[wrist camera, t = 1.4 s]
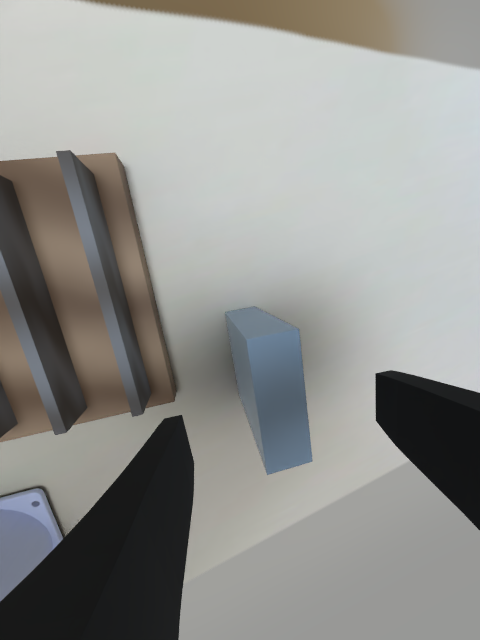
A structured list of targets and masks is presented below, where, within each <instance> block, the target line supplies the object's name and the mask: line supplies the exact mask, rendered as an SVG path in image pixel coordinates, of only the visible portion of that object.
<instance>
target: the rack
mask: <svg viewBox="0 0 480 640" xmlns="http://www.w3.org/2000/svg"><path fill="white" fill-rule="evenodd" d="M56 153H57V156H58V157H50V158H36V159H23V160H9V161H0V442H3V441H8V440H12V439H16V438H20V437H25V436H29V435H33V434H38V433H42V432H46V431H50V430H53V431H54V434H55V435H58V434H62V433H66V432H67V431H68V430H69V429H70V428H71V427H72V425H76V424H80V423H85V422H89V421H93V420H97V419H102V418H106V417H110V416H114V415H119V414H123V413H127V412H131V413H132V417H134V416H138V415H142V414H143V413H144V410H145V408H149V407H153V406H157V405H161V404H166V403H170V402H174V401H175V397H176V387H175V383H174V379H173V374H172V370H171V366H170V362H169V357H168V353H167V349H166V344H165V340H164V336H163V332H162V327H161V323H160V319H159V315H158V310H157V306H156V302H155V298H154V293H153V289H152V285H151V281H150V276H149V272H148V268H147V264H146V259H145V255H144V251H143V247H142V242H141V238H140V234H139V230H138V225H137V221H136V217H135V213H134V208H133V204H132V200H131V196H130V191H129V187H128V183H127V179H126V174H125V170H124V166H123V164H122V162H121V161H120V159H119V158H118V156H117V155H116V153H104V154H90V155H77V156H75V155H74V154H73V153H72V152H71V151H70V150H68V151H56Z"/></svg>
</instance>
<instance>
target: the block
mask: <svg viewBox="0 0 480 640" xmlns="http://www.w3.org/2000/svg"><path fill="white" fill-rule="evenodd" d="M225 316H226V322H227V328H228V334H229V340H230V345H231V351H232V357H233V363H234V369H235V375H236V381H237V386H238V392H239V396H240V399H241V402H242V404H243V407H244V410H245V413H246V416H247V419H248V422H249V424H250V427H251V430H252V433H253V436H254V439H255V442H256V444H257V447H258V450H259V453H260V456H261V459H262V461H263V464H264V467H265V470H266V473H267V475H269V474H272V473H275V472H279V471H282V470H285V469H289V468H292V467H295V466H299V465H302V464H305V463H309V462H312V452H311V442H310V432H309V422H308V413H307V403H306V393H305V383H304V374H303V364H302V354H301V344H300V335H299V329H298V328H296V327H294V326H292V325H290V324H288V323H286V322H284V321H283V320H281V319H279V318H277V317H275V316H273V315H271V314H269V313H267V312H265V311H263V310H261V309H259V308H257V307H249V308H244V309H239V310H233V311H228V312H225Z"/></svg>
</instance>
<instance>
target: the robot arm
mask: <svg viewBox="0 0 480 640" xmlns="http://www.w3.org/2000/svg"><path fill="white" fill-rule="evenodd" d="M376 421H377V423H378V424H379V425H380V426H381V428H382V429H383V430H384V432H385V433H386V434H387V435H388V437H389V438H390V439H391V440H392V442H393V443H394V444H395V445H396V446H397V447H398V448H399V449H400V450H401V452H402V453H403V454H404V455H405V456H406V457H407V458H408V459H409V460H410V461H411V462H412V463H413V464H414V465H415V466H416V467H417V468H418V469H419V470H420V471H421V472H422V473H423V474H424V475H425V476H426V477H427V478H428V479H429V480H430V481H431V482H432V483H433V484H435V486H436V487H437V488H438V489H439V490H440V491H441V492H442V493H443V494H444V495H445V496H447V498H448V499H450V501H451V502H452V503H454V505H456V506H457V507H458V508H459V509H460V510H461V511H462V512H463V513H464V514H465V516H466V517H467V518H468V519H469V520H470V521H471V522H472V523H473V524H474V525H475V526H476V527H477V528H478V529H479V530H480V393H478V392H474V391H470V390H467V389H463V388H459V387H456V386H452V385H448V384H444V383H441V382H437V381H433V380H430V379H426V378H422V377H418V376H414V375H410V374H406V373H402V372H397V371H391V370H390V371H386V372H381V373H376ZM193 495H194V460H193V456H192V453H191V449H190V445H189V441H188V437H187V433H186V429H185V425H184V421H183V417H182V415H179V416H174V417H170V418H165V419H164V420H163V421H162V422H161V423H160V425H159V426H158V427H157V429H156V430H155V431H154V432H153V434H152V435H151V436H150V438H149V439H148V440H147V442H146V443H145V444H144V446H143V447H142V448H141V449H140V451H139V452H138V453H137V454H136V456H135V457H134V458H133V460H132V461H131V462H130V463H129V465H128V466H127V467H126V468H125V470H124V471H123V472H122V473H121V474H120V476H119V477H118V478H117V479H116V480H115V482H114V483H113V484H112V485H111V486H110V487H109V489H108V490H107V491H106V492H105V493H104V494H103V496H102V497H101V498H100V499H99V500H98V501H97V503H96V504H95V505H94V506H93V507H92V508H91V510H90V511H89V512H88V513H87V514H86V515H85V516H84V517H83V518H82V520H81V521H80V522H79V523H78V524H77V525H76V526H75V527H74V528H73V529H72V530H71V531H70V532H69V534H68V535H67V536H66V537H65V538H64V539H63V537H62V534H61V532H60V530H59V527H58V525H57V522H56V520H55V518H54V515H53V513H52V510H51V508H50V506H49V503H48V501H47V498H46V496H45V493H44V492H43V490H41V489H38V488H37V489H32V490H28V491H24V492H20V493H16V494H13V495H9V496H5V497H1V498H0V640H178V637H179V620H180V609H181V598H182V588H183V580H184V572H185V564H186V555H187V547H188V539H189V530H190V522H191V513H192V505H193Z"/></svg>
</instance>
